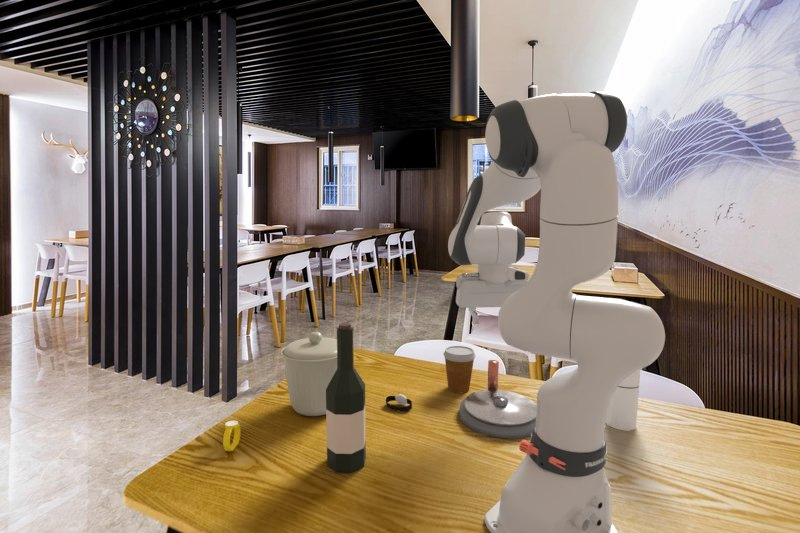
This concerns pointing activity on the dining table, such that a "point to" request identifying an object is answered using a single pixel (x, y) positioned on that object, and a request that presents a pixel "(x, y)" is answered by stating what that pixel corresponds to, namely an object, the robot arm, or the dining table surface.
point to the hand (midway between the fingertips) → (492, 322)
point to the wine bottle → (345, 409)
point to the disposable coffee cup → (459, 367)
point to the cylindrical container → (624, 404)
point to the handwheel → (500, 403)
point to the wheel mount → (495, 426)
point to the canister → (310, 372)
